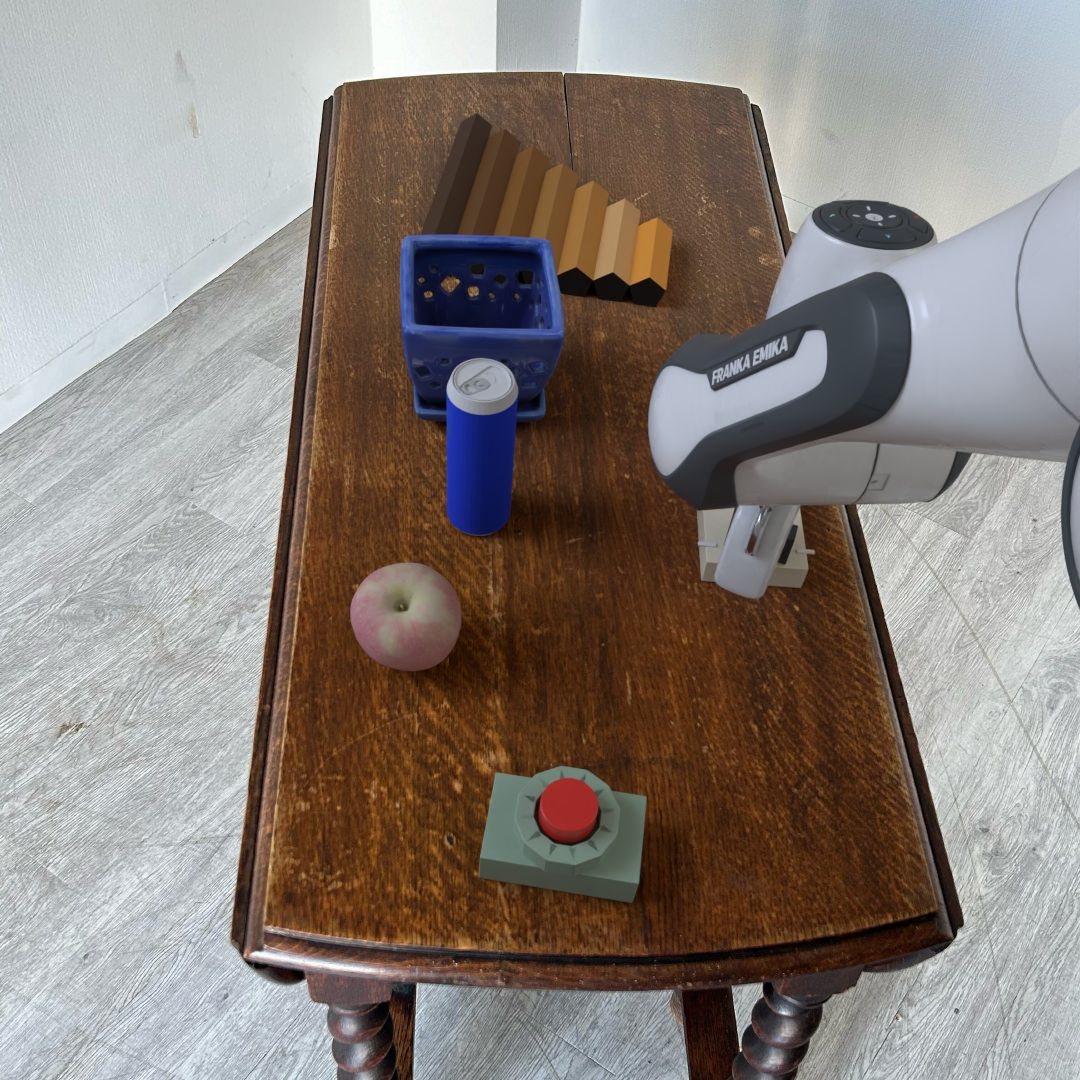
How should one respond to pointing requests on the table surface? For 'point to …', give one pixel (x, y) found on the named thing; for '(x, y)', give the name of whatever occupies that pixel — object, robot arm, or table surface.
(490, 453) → the beverage can
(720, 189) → the table surface
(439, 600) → the apple
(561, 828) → the power button
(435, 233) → the pan flute
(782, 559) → the dark grey red-tipped block
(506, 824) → the control block
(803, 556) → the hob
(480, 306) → the flower pot
